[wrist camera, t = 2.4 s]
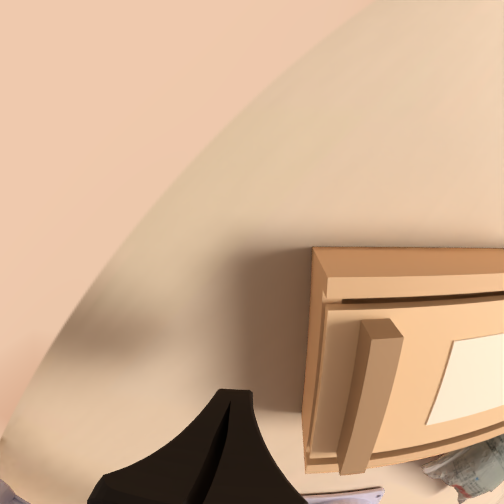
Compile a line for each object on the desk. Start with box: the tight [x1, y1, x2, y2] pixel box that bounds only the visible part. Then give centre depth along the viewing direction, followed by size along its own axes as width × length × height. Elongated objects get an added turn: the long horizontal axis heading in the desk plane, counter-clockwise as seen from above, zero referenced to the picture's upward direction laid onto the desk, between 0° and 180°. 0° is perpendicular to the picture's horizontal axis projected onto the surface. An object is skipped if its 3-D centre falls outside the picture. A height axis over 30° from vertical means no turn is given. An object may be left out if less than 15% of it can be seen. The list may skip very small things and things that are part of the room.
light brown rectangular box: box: [301, 247, 504, 474], centre depth 14 cm, size 11×15×5 cm
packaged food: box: [422, 434, 504, 504], centre depth 16 cm, size 9×12×5 cm
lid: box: [309, 295, 504, 476], centre depth 11 cm, size 8×15×2 cm, turn 91°
